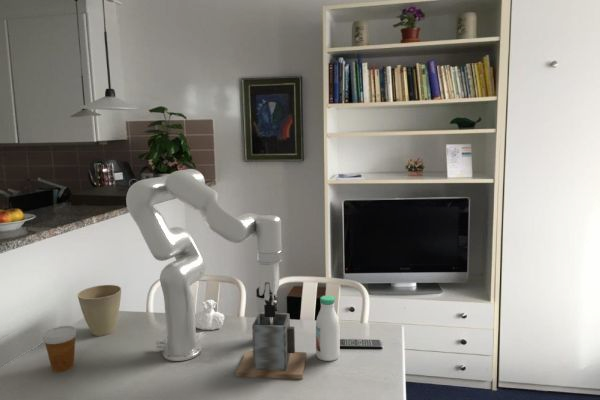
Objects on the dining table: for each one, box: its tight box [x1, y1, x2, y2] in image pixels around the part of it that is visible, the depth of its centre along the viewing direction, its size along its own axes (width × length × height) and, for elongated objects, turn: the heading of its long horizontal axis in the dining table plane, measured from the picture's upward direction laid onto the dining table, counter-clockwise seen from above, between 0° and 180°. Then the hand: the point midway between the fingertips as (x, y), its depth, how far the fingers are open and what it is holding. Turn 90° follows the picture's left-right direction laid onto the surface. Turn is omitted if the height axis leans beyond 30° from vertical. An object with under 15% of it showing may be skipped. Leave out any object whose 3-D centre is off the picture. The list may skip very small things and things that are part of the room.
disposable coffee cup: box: [42, 325, 78, 373], centre depth 144 cm, size 10×10×12 cm
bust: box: [195, 299, 225, 331], centre depth 174 cm, size 12×8×11 cm
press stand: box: [235, 312, 307, 380], centre depth 142 cm, size 20×14×16 cm
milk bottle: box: [315, 295, 341, 362], centre depth 148 cm, size 8×8×20 cm
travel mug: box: [255, 286, 265, 316], centre depth 160 cm, size 6×7×20 cm
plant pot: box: [77, 284, 122, 337], centre depth 170 cm, size 15×15×16 cm
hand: (271, 313), depth 141 cm, fingers closed on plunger, 4 cm apart
